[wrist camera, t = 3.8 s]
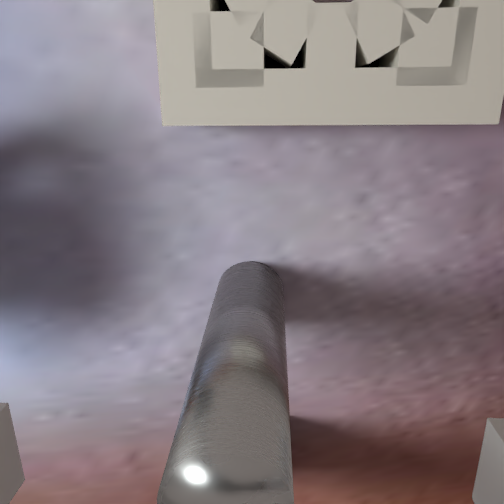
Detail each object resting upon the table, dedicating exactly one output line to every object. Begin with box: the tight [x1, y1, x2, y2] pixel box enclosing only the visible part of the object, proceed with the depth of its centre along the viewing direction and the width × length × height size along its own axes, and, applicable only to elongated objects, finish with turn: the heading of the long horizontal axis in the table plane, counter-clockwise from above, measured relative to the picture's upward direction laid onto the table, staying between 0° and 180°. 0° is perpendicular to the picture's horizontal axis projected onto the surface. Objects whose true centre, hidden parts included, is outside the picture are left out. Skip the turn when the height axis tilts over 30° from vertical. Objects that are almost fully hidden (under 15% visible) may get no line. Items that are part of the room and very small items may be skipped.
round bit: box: [157, 262, 294, 504], centre depth 16 cm, size 3×3×12 cm
